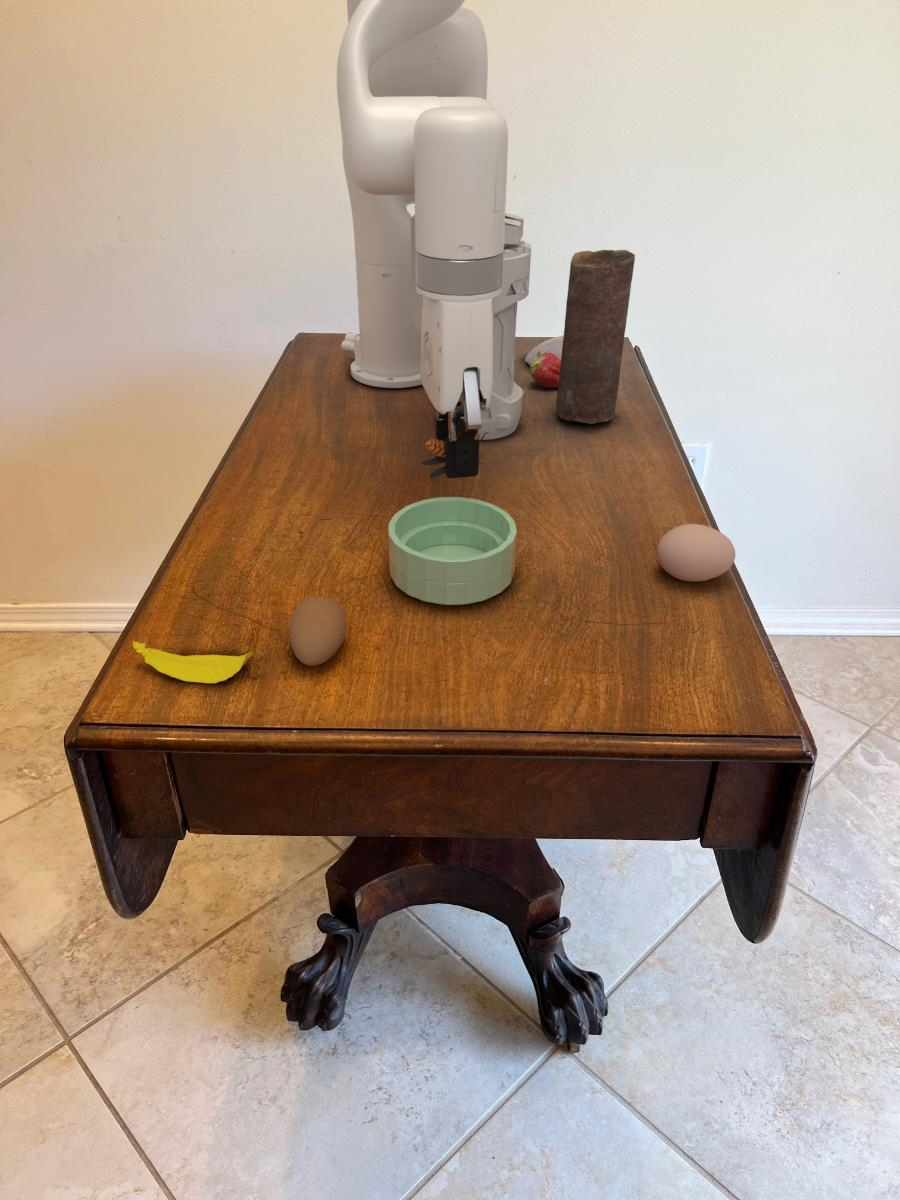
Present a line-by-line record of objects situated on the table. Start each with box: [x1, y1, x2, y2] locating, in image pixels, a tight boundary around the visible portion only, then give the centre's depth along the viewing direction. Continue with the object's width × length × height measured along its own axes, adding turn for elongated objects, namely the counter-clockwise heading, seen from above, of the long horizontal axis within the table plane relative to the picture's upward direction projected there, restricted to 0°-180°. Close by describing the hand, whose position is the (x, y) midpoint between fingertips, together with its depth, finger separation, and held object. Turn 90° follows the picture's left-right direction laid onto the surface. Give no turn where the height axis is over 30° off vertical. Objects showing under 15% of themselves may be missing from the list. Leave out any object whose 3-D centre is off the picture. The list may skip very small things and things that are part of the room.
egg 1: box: [288, 594, 348, 667], centre depth 65 cm, size 4×4×6 cm
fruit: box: [528, 350, 561, 389], centre depth 113 cm, size 4×6×5 cm
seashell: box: [524, 335, 564, 368], centre depth 121 cm, size 10×6×10 cm
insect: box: [420, 432, 488, 479], centre depth 81 cm, size 4×6×5 cm, turn 105°
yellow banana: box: [132, 640, 255, 684], centre depth 64 cm, size 10×2×3 cm
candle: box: [555, 249, 636, 425], centre depth 99 cm, size 8×7×20 cm
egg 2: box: [656, 523, 736, 583], centre depth 74 cm, size 5×5×7 cm
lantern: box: [411, 205, 532, 441], centre depth 97 cm, size 13×10×25 cm
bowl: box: [387, 496, 518, 606], centre depth 75 cm, size 11×11×5 cm
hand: (456, 464), depth 82 cm, fingers closed on insect, 3 cm apart
